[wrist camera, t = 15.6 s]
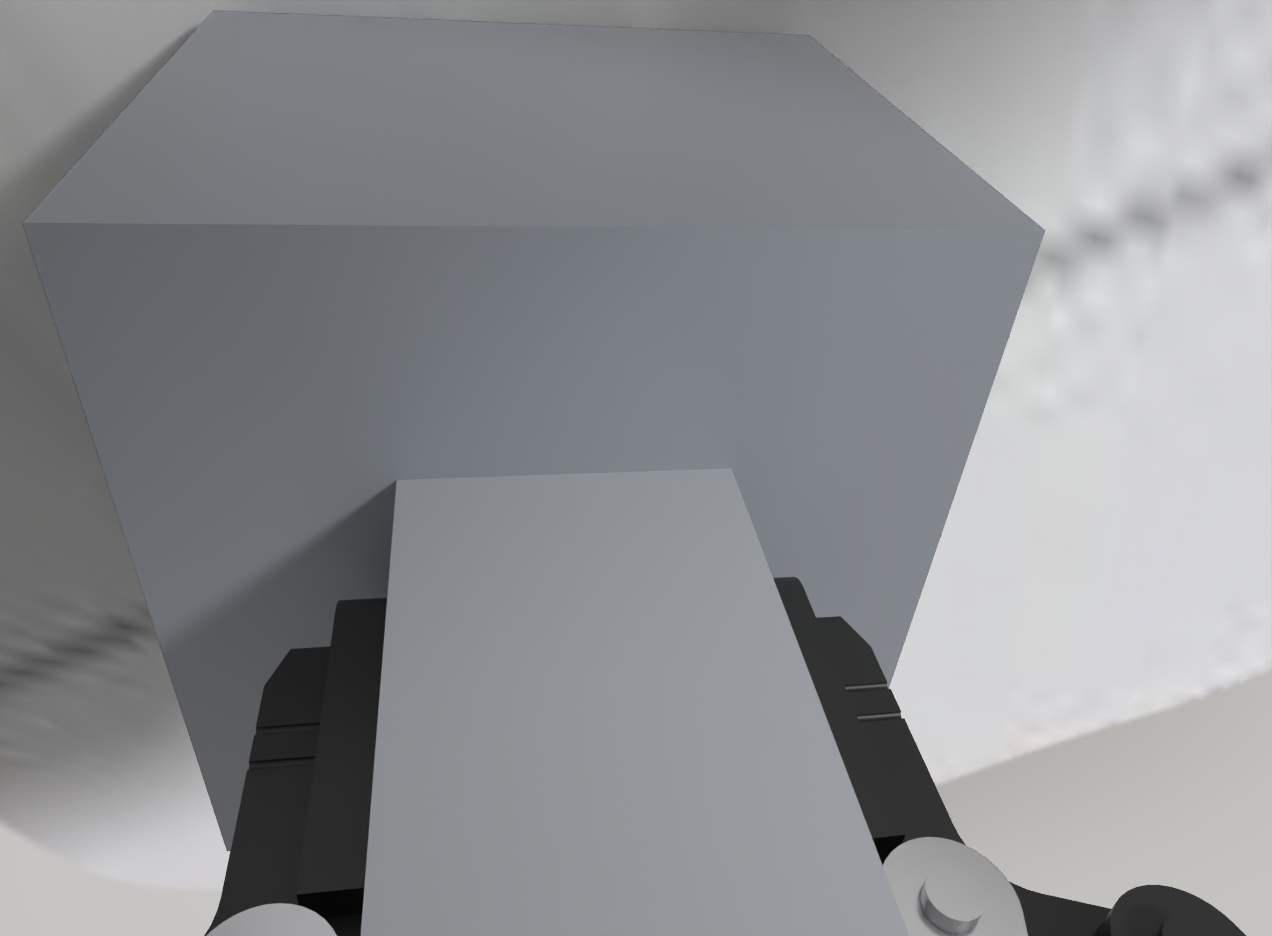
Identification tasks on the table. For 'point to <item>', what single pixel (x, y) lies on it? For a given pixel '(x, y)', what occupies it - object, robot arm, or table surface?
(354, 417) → the grey stepped block
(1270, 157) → the table surface
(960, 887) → the robot arm
